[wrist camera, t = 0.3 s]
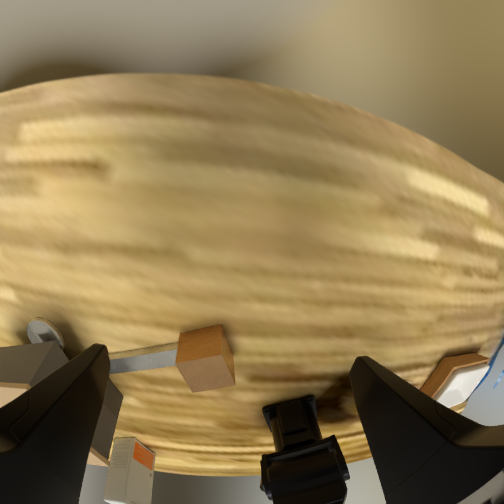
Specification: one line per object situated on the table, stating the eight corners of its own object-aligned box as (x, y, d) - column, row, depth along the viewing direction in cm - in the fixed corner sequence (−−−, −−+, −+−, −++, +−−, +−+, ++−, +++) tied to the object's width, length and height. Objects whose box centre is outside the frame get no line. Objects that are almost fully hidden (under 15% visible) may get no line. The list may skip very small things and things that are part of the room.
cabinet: (125, 397, 27) (109, 466, 18) (62, 398, 27) (41, 453, 18) (69, 317, 22) (25, 389, 13) (11, 329, 22) (-28, 383, 13)
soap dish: (478, 346, 33) (494, 363, 29) (451, 387, 37) (463, 404, 32) (440, 351, 31) (458, 373, 27) (409, 397, 35) (422, 418, 30)
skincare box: (156, 453, 33) (151, 514, 22) (136, 454, 34) (129, 512, 23) (134, 436, 31) (124, 503, 20) (113, 437, 31) (101, 500, 20)
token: (73, 349, 24) (69, 356, 23) (46, 352, 24) (42, 358, 23) (50, 312, 22) (45, 319, 21) (24, 318, 22) (20, 324, 21)
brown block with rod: (233, 355, 26) (235, 385, 22) (93, 375, 26) (83, 400, 22) (221, 324, 24) (221, 354, 21) (75, 350, 24) (62, 375, 20)
